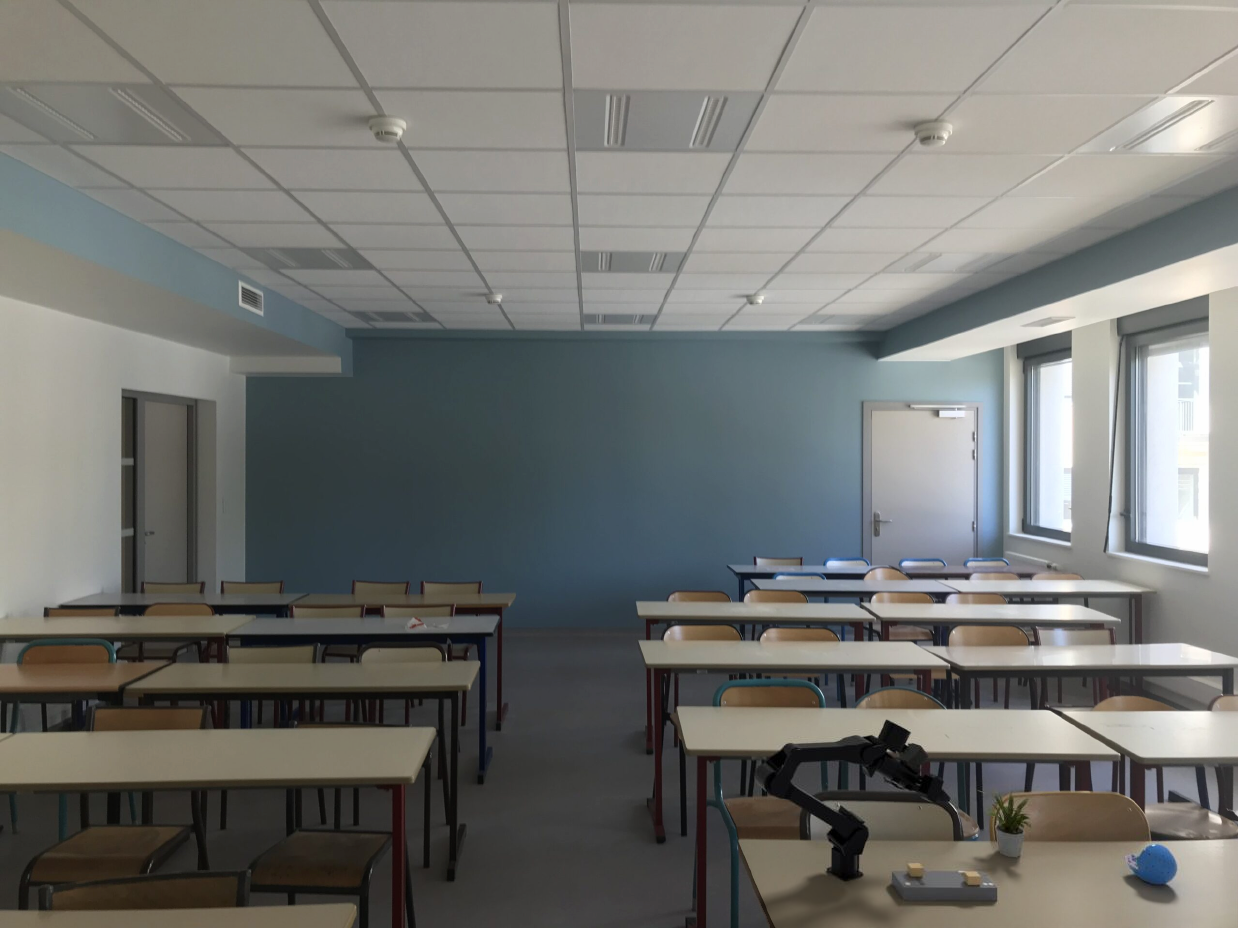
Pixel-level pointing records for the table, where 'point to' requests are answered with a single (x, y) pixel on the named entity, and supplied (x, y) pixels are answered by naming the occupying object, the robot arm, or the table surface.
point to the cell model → (1153, 864)
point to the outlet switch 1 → (915, 869)
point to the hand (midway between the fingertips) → (937, 794)
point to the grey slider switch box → (943, 886)
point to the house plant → (1009, 826)
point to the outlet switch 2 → (972, 878)
